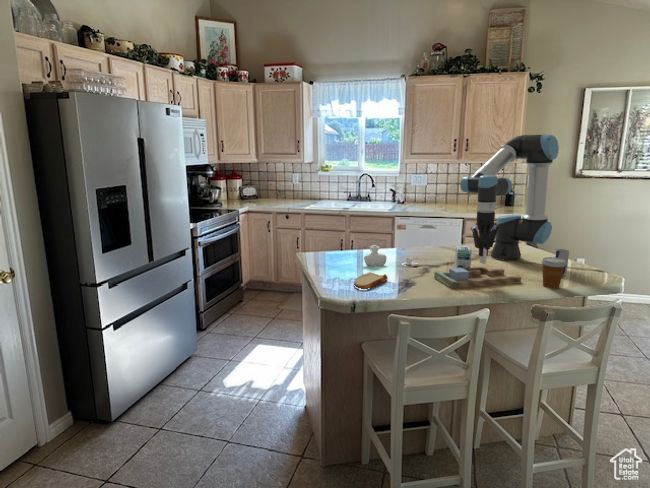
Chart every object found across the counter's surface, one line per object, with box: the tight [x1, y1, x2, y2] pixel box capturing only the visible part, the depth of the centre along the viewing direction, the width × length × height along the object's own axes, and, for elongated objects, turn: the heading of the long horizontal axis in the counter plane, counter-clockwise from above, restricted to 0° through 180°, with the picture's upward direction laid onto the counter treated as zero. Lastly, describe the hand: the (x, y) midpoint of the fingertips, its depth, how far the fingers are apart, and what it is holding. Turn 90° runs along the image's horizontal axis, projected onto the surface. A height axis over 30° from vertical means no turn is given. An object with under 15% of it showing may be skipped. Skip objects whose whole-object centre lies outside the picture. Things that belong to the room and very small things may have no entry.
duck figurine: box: [363, 244, 388, 267], centre depth 223 cm, size 12×8×11 cm
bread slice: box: [353, 271, 388, 289], centre depth 194 cm, size 18×18×4 cm
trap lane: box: [433, 266, 522, 289], centre depth 199 cm, size 34×19×3 cm, turn 104°
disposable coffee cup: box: [541, 256, 566, 290], centre depth 188 cm, size 10×10×12 cm
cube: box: [448, 267, 469, 281], centre depth 194 cm, size 6×6×6 cm
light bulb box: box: [454, 244, 473, 268], centre depth 216 cm, size 11×7×11 cm, turn 168°
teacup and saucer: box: [401, 256, 419, 268], centre depth 223 cm, size 9×8×4 cm
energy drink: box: [555, 248, 570, 278], centre depth 204 cm, size 5×5×12 cm
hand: (482, 262), depth 196 cm, fingers closed
